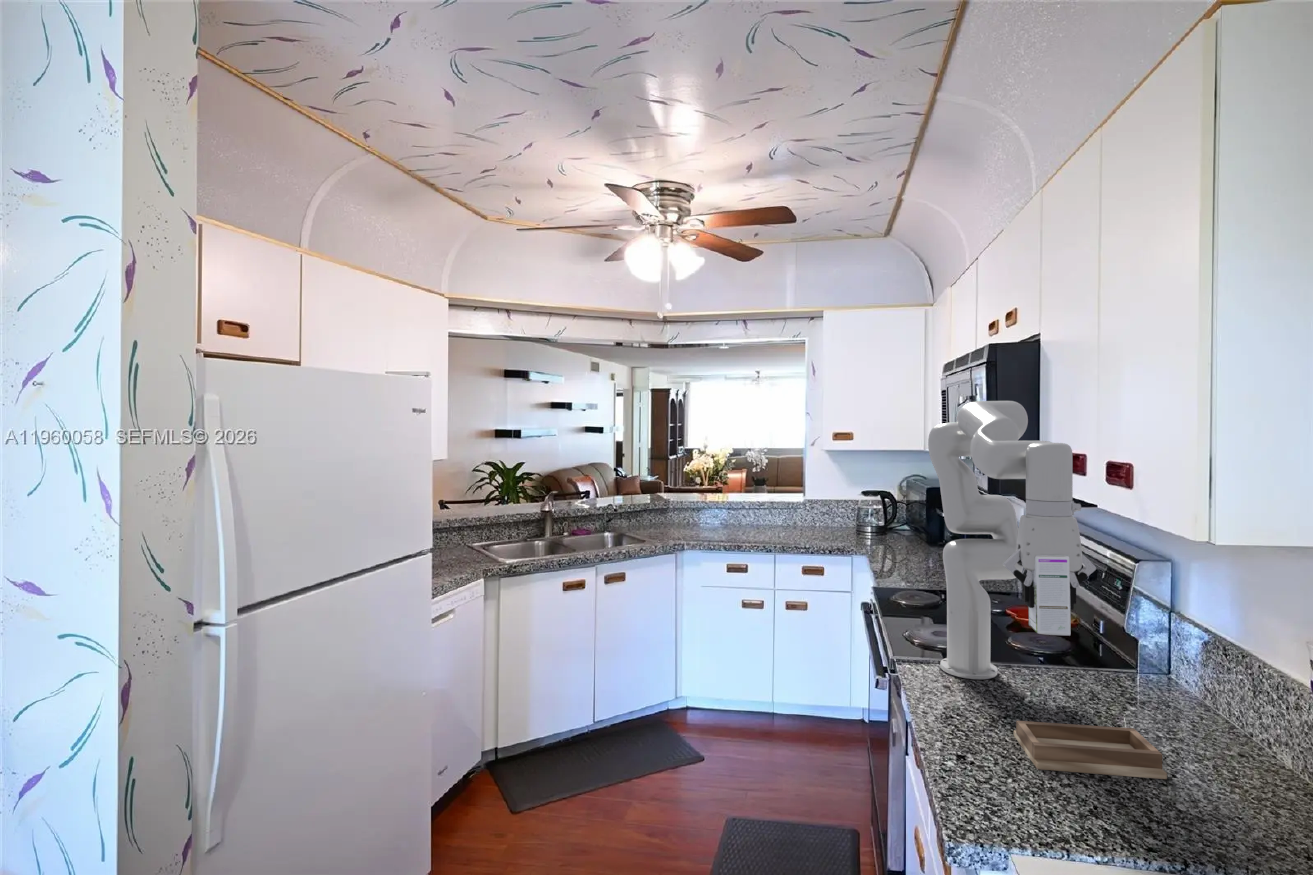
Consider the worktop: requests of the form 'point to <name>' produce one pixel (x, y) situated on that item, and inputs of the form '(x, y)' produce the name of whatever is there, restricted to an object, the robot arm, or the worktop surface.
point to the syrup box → (1051, 596)
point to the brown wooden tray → (1089, 749)
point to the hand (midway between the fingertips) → (1048, 606)
